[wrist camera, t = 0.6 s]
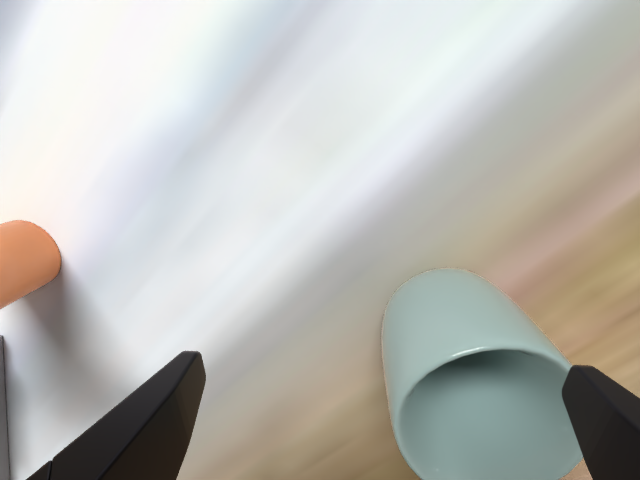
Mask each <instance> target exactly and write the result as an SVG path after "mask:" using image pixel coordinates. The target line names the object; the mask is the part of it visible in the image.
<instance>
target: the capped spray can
mask: <svg viewBox="0 0 640 480" xmlns="http://www.w3.org/2000/svg"><path fill="white" fill-rule="evenodd" d="M60 266H61V256H60V252H59V249H58V247H57V245H56V243H55V241H54V240H53V239H52V237H51V236H50V235H49V234H48V233H47V232H46V231H45V230H43V229H42V228H41V227H39V226H37V225H36V224H33V223H31V222H27V221H23V220H14V221H9V222H6V223H3V224H0V309H2V308H4V307H5V306H7V305H9V304H11V303H13V302H14V301H16V300H18V299H20V298H22V297H23V296H25V295H27V294H29V293H31V292H32V291H34V290H36V289H38V288H40V287H41V286H43V285H45V284H47V283H49V282H50V281H52V280H53V279H54V278H55V277H56V276H57V274H58V273H59V270H60Z"/></svg>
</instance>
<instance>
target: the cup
mask: <svg viewBox="0 0 640 480" xmlns="http://www.w3.org/2000/svg"><path fill="white" fill-rule="evenodd" d="M381 353H382V364H383V372H384V380H385V387H386V395H387V401H388V408H389V414H390V421H391V426H392V431H393V434H394V437H395V440H396V442H397V445H398V448H399V450H400V453H401V454H402V456H403V458H404V459H405V461H406V462H407V464H408V466H409V467H410V468H411V469H412V470H413V471H414V472H415V473H416V474H417V475H418V477H419V478H421V479H422V480H559V479H560V478H562V477H563V476H565V475H566V474H568V473H569V472H570V471H571V470H572V469H573V468H574V467H575V466H576V465H577V464H578V463H579V462H580V461H581V460H582V458H583V455H582V452H581V450H580V447H579V444H578V441H577V438H576V436H575V433H574V430H573V427H572V424H571V422H570V419H569V416H568V413H567V410H566V408H565V405H564V402H563V399H562V387H563V385H564V382H565V380H566V377H567V375H568V372H569V370H570V368H571V367H572V366H573V365H572V364H571V363H570V361H569V360H568V359H567V357H566V356H565V355H564V354H563V353H562V351H561V350H560V349H559V348H558V347H557V346H556V344H555V343H554V342H553V341H552V340H551V339H550V338H549V337H548V336H547V334H546V333H545V332H544V331H543V330H542V329H541V328H540V327H539V326H538V325H537V323H536V322H535V321H534V320H533V319H532V318H531V317H530V316H529V315H528V314H527V313H526V312H525V311H524V310H523V309H522V308H521V307H520V306H519V305H518V304H517V303H516V302H515V301H514V300H513V299H512V298H511V297H509V296H508V295H507V294H506V293H505V292H504V291H503V290H501V289H500V288H499V287H498V286H497V285H495V284H494V283H493V282H491V281H490V280H488V279H486V278H484V277H482V276H480V275H478V274H476V273H474V272H472V271H468V270H464V269H460V268H449V267H444V268H437V269H432V270H428V271H425V272H422V273H420V274H418V275H416V276H413V277H411V278H410V279H408V280H407V281H406V282H404V283H403V284H402V285H401V286H400V287H399V288H398V289H397V290H395V292H394V293H393V295H392V296H391V298H390V299H389V301H388V303H387V306H386V309H385V312H384V315H383V320H382V331H381Z"/></svg>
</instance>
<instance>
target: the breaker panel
mask: <svg viewBox="0 0 640 480" xmlns="http://www.w3.org/2000/svg"><path fill="white" fill-rule="evenodd" d="M0 480H10V472H9V453H8V434H7V415H6V396H5V377H4V358H3V339H2V336H1V335H0Z"/></svg>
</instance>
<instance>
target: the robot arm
mask: <svg viewBox="0 0 640 480" xmlns="http://www.w3.org/2000/svg"><path fill="white" fill-rule="evenodd" d="M205 381H206V374H205V369H204V365H203V360H202V356H201V354H200V352H198V351H183V352H181V353H180V354H179V355H178V356H176V357H175V358H174V359H173V360H172V361H170V362H169V363H168V364H167V365H165V366H164V367H163V368H162V369H161V370H159V371H158V372H157V373H156V374H154V375H153V376H152V377H151V378H150V379H148V380H147V381H146V382H145V383H144V384H142V385H141V386H140V387H139V388H137V389H136V390H135V391H134V392H133V393H131V394H130V395H129V396H128V397H126V398H125V399H124V400H123V401H122V402H120V403H119V404H118V405H117V406H116V407H114V408H113V409H112V410H111V411H109V412H108V413H107V414H106V415H105V416H103V417H102V418H101V419H100V420H98V421H97V422H96V423H95V424H94V425H92V426H91V427H90V428H89V429H88V430H86V431H85V432H84V433H83V434H81V435H80V436H79V437H78V438H77V439H75V440H74V441H73V442H72V443H70V444H69V445H68V446H67V447H66V448H64V449H63V450H62V451H61V452H60V453H58V454H57V455H56V456H55V457H54V458H53V460H52V461H48V462H47V463H46V464H45V465H43V466H42V467H41V468H40V469H39V470H37V471H36V472H35V473H34V474H33V475H31V476H30V477H29V478H27V479H26V480H176V478H177V476H178V473H179V470H180V468H181V465H182V462H183V460H184V457H185V454H186V452H187V449H188V446H189V443H190V439H191V436H192V432H193V428H194V425H195V421H196V417H197V413H198V409H199V405H200V401H201V398H202V394H203V390H204V386H205ZM562 399H563V402H564V405H565V408H566V410H567V413H568V416H569V419H570V422H571V424H572V427H573V430H574V433H575V436H576V438H577V441H578V444H579V447H580V450H581V452H582V455H583V458H584V460H585V463H586V465H587V467H588V470H589V472H590V474H591V476H592V478H593V480H640V398H638V397H637V396H635V395H634V394H633V393H631V392H630V391H628V390H627V389H625V388H624V387H622V386H621V385H619V384H618V383H617V382H615V381H614V380H612V379H611V378H609V377H608V376H606V375H605V374H604V373H602V372H601V371H599V370H598V369H596V368H595V367H593V366H588V365H573V366H572V367H571V368H570V370H569V372H568V375H567V377H566V380H565V382H564V385H563V387H562Z"/></svg>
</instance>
